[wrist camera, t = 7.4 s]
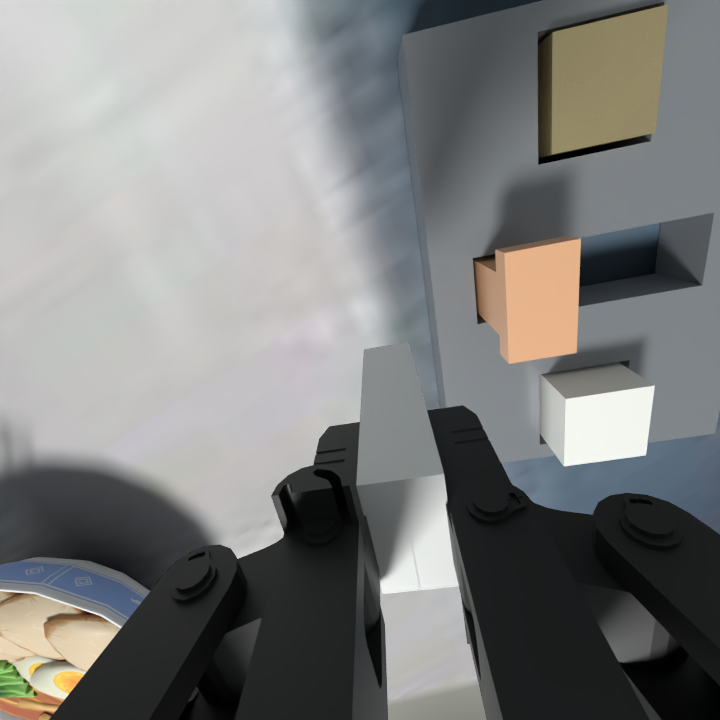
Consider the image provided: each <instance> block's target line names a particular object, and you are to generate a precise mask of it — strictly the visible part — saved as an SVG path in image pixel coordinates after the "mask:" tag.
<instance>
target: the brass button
mask: <svg viewBox="0 0 720 720" xmlns="http://www.w3.org/2000/svg"><path fill="white" fill-rule="evenodd" d="M668 5H669V4H668ZM668 5H664V6H660V7H656V8H651V9H647V10H643V11H639V12H635V13H630V14H626V15H622V16H618V17H614V18H610V19H605V20H601V21H597V22H593V23H589V24H585V25H580V26H576V27H572V28H568V29H564V30H560V31H555V32H552V33H551V34H550V35H549V36H548V37H547V38H546V39H545V40H544V41H542V42H541V43H540V44H539V45H538V159H540V158H545V157H550V156H555V155H559V154H564V153H569V152H574V151H578V150H583V149H588V148H593V147H597V146H602V145H606V144H611V143H615V142H619V141H623V140H627V139H631V138H635V137H640V136H644V135H648V134H652V133H656V124H657V114H658V104H659V94H660V84H661V75H662V65H663V55H664V45H665V35H666V25H667V15H668Z"/></svg>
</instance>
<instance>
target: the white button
mask: <svg viewBox="0 0 720 720" xmlns="http://www.w3.org/2000/svg"><path fill="white" fill-rule="evenodd" d="M654 388H655V385H653V384H652V383H650V382H649V381H647V380H645V379H644V378H642V377H641V376H639V375H638V374H636V373H634V372H633V371H631V370H630V369H628V368H627V367H625V366H624V365H622V364H620V363H619V362H614V363H608V364H602V365H595V366H589V367H583V368H576V369H570V370H564V371H557V372H551V373H545V374H539V394H540V435H541V436H542V437H543V439H544V440H545V441H546V443H547V444H548V445H549V447H550V448H551V450H552V451H553V452H554V454H555V455H556V456H557V458H558V459H559V460H560V462H561V463H562V464H563V466H570V465H578V464H585V463H592V462H600V461H607V460H615V459H622V458H629V457H637V456H644V455H646V450H647V442H648V435H649V427H650V419H651V411H652V404H653V396H654Z"/></svg>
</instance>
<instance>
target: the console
mask: <svg viewBox="0 0 720 720" xmlns="http://www.w3.org/2000/svg"><path fill="white" fill-rule="evenodd" d="M668 4H669V5H668ZM664 5H668V15H667V25H666V35H665V45H664V55H663V65H662V75H661V84H660V94H659V104H658V114H657V124H656V133H652V134H648V135H644V136H640V137H635V138H631V139H627V140H623V141H619V142H615V143H611V144H606V151H602V152H597V153H592V154H588V155H583V156H578V157H573V158H568V159H564V160H559V161H554V162H549V163H544V164H540V165H538V45H539V44H540V43H541V42H542V41H544V40H545V39H546V38H547V37H548V36H549V35H550V34H551V33H552V32H555V31H560V30H564V29H568V28H572V27H576V26H580V25H585V24H589V23H593V22H597V21H601V20H605V19H610V18H614V17H618V16H622V15H626V14H630V13H635V12H639V11H643V10H647V9H651V8H656V7H660V6H664ZM397 68H398V76H399V84H400V92H401V100H402V108H403V116H404V124H405V132H406V140H407V148H408V156H409V164H410V172H411V180H412V188H413V196H414V204H415V212H416V220H417V228H418V236H419V244H420V252H421V260H422V268H423V276H424V284H425V292H426V300H427V308H428V316H429V324H430V332H431V340H432V348H433V357H434V365H435V373H436V381H437V389H438V397H439V405H440V409H441V408H448V407H454V406H461V405H463V406H465V407H466V408H468V409H469V410H471V411H472V412H474V413H475V414H477V416H478V418H479V420H480V422H481V424H482V426H483V430H485V432H486V434H487V436H488V440H490V442H491V444H492V446H493V448H494V450H495V452H496V454H497V456H498V458H499V460H500V462H501V463H505V462H512V461H519V460H526V459H534V458H541V457H548V456H555V454H554V452H553V451H552V450H551V448H550V447H549V445H548V444H547V443H546V441H545V440H544V439H543V437H542V436H541V435H540V394H539V374H545V373H551V372H557V371H564V370H570V369H576V368H583V367H589V366H595V365H602V364H608V363H614V362H619V363H620V364H622V365H624V366H625V367H627V368H628V369H630V370H631V371H633V372H634V373H636V374H638V375H639V376H641V377H642V378H644V379H645V380H647V381H649V382H650V383H652V384H653V385H655V388H654V396H653V404H652V411H651V419H650V427H649V435H648V442H647V443H649V442H657V441H664V440H671V439H678V438H686V437H693V436H700V435H707V434H715V431H716V426H717V421H718V416H719V412H720V0H541V1H537V2H533V3H529V4H525V5H521V6H517V7H513V8H509V9H505V10H501V11H497V12H493V13H489V14H485V15H481V16H477V17H473V18H469V19H465V20H461V21H457V22H453V23H449V24H445V25H441V26H437V27H433V28H429V29H425V30H421V31H416V32H412V33H408V34H404V35H403V37H402V42H401V47H400V51H399V56H398V61H397ZM656 223H660V231H659V240H658V249H657V258H656V266H655V274H649V275H643V276H638V277H632V278H627V279H621V280H615V281H610V282H604V283H598V284H593V285H587V286H581V287H579V304H578V332H577V353H573V354H567V355H561V356H555V357H548V358H542V359H536V360H530V361H524V362H517V363H511V364H509V363H508V362H507V361H506V360H505V359H504V358H503V357H502V355H501V354H500V338H499V334H498V333H497V332H496V331H495V330H494V329H493V328H492V327H491V326H490V325H489V324H488V323H487V322H486V321H485V320H484V319H483V318H482V317H481V316H480V315H479V314H478V313H477V310H476V296H475V282H474V268H473V258H476V257H482V256H487V255H492V254H495V250H496V249H501V248H506V247H511V246H517V245H522V244H527V243H532V242H538V241H543V240H548V239H553V238H559V237H564V236H569V237H574V238H582V237H587V236H593V235H598V234H603V233H609V232H614V231H619V230H624V229H630V228H635V227H640V226H646V225H651V224H656Z"/></svg>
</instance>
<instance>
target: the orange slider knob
mask: <svg viewBox="0 0 720 720" xmlns="http://www.w3.org/2000/svg"><path fill="white" fill-rule="evenodd" d="M580 249H581V239H580V238H574V237H569V236H564V237H559V238H553V239H548V240H543V241H538V242H532V243H527V244H522V245H517V246H511V247H506V248H501V249H496V250H495V254H492V255H487V256H482V257H476V258H473V268H474V282H475V296H476V310H477V313H478V314H479V315H480V316H481V317H482V318H483V319H484V320H485V321H486V322H487V323H488V324H489V325H490V326H491V327H492V328H493V329H494V330H495V331H496V332H497V333H498V334H499V338H500V354H501V355H502V357H503V358H504V359H505V360H506V361H507V362H508V363H509V364H511V363H517V362H524V361H530V360H536V359H542V358H548V357H555V356H561V355H567V354H573V353H577V332H578V304H579V277H580Z"/></svg>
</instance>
